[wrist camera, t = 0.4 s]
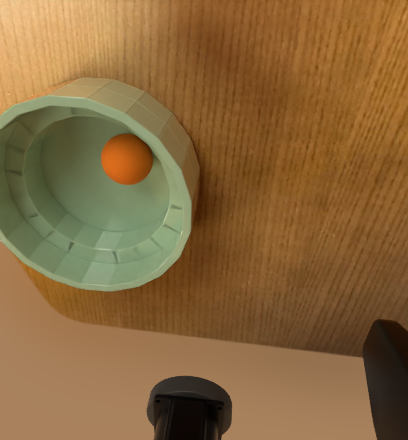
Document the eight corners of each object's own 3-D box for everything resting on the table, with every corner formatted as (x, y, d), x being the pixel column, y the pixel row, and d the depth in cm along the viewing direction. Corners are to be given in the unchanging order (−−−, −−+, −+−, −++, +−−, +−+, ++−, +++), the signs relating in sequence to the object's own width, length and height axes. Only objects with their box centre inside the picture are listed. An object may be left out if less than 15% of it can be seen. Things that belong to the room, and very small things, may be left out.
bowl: (197, 252, 28) (189, 299, 23) (39, 238, 28) (3, 281, 24) (204, 82, 21) (195, 105, 17) (1, 69, 22) (-58, 88, 18)
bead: (158, 174, 24) (147, 195, 21) (112, 170, 24) (96, 191, 22) (156, 128, 22) (145, 145, 20) (107, 124, 23) (90, 141, 20)
